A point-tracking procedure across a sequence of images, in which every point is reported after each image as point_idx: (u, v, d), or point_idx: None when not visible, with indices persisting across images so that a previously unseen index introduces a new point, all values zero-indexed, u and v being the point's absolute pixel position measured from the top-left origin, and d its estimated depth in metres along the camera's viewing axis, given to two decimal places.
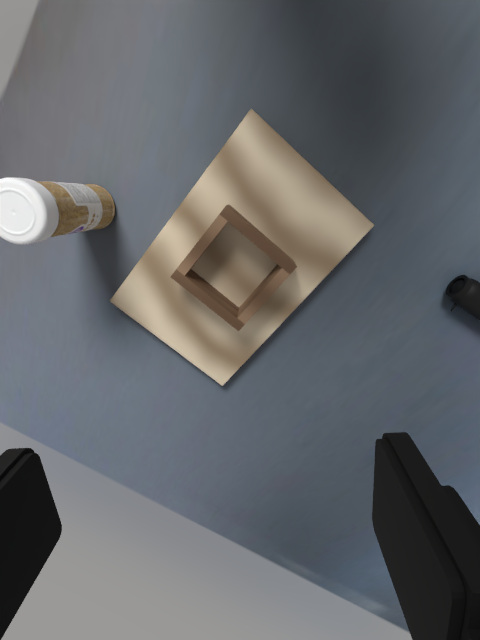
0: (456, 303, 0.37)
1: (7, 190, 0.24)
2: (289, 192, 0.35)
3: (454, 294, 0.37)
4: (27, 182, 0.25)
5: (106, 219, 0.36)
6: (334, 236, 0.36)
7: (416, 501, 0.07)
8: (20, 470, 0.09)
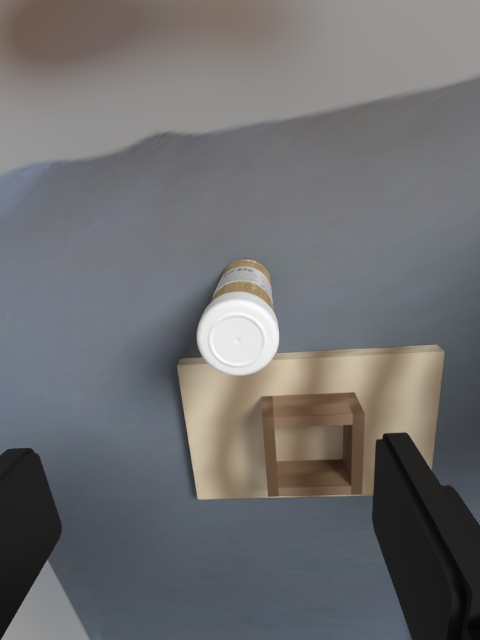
0: None
1: (255, 322, 0.19)
2: (402, 425, 0.34)
3: None
4: (277, 329, 0.19)
5: None
6: None
7: (416, 501, 0.07)
8: (20, 470, 0.09)
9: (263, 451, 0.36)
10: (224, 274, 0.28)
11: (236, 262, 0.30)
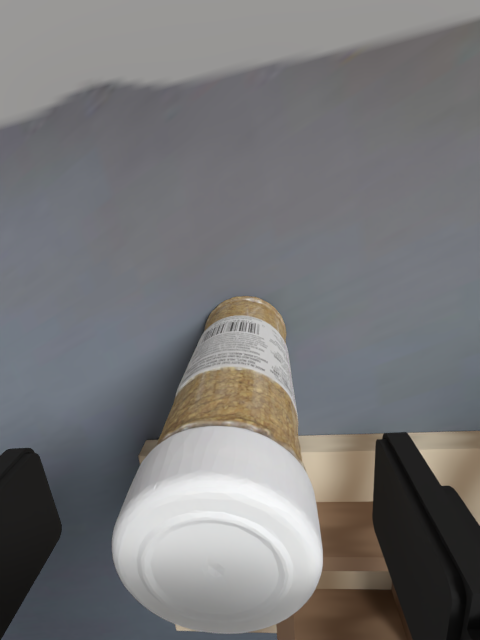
0: None
1: (261, 536, 0.07)
2: None
3: None
4: (320, 538, 0.07)
5: None
6: None
7: (416, 501, 0.07)
8: (20, 470, 0.09)
9: None
10: (207, 329, 0.16)
11: (230, 302, 0.19)
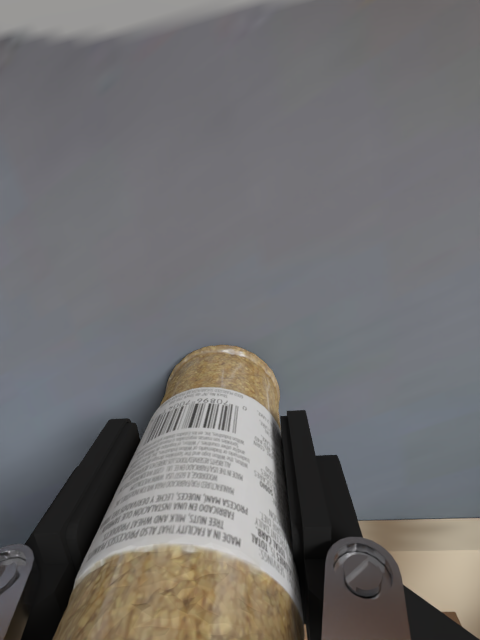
0: None
1: None
2: None
3: None
4: None
5: None
6: None
7: (291, 463, 0.08)
8: (126, 437, 0.10)
9: None
10: (159, 410, 0.10)
11: (199, 355, 0.13)
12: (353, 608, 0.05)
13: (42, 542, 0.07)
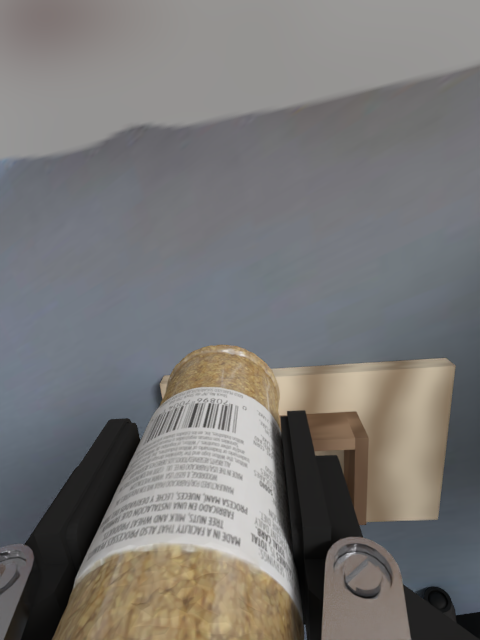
0: None
1: None
2: (409, 446, 0.31)
3: None
4: None
5: None
6: (403, 502, 0.33)
7: (291, 463, 0.08)
8: (126, 437, 0.10)
9: None
10: (159, 410, 0.10)
11: (199, 355, 0.13)
12: (353, 608, 0.05)
13: (42, 542, 0.07)
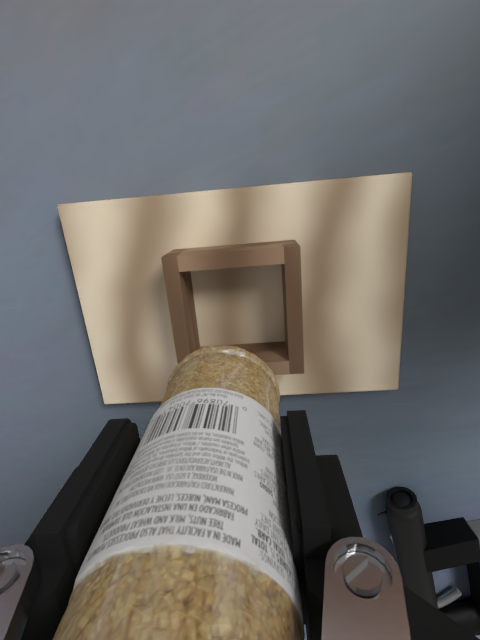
0: (387, 513, 0.32)
1: None
2: (360, 288, 0.26)
3: (394, 506, 0.31)
4: None
5: None
6: (356, 366, 0.28)
7: (291, 463, 0.08)
8: (126, 437, 0.10)
9: None
10: (159, 410, 0.10)
11: (199, 355, 0.13)
12: (353, 608, 0.05)
13: (42, 542, 0.07)
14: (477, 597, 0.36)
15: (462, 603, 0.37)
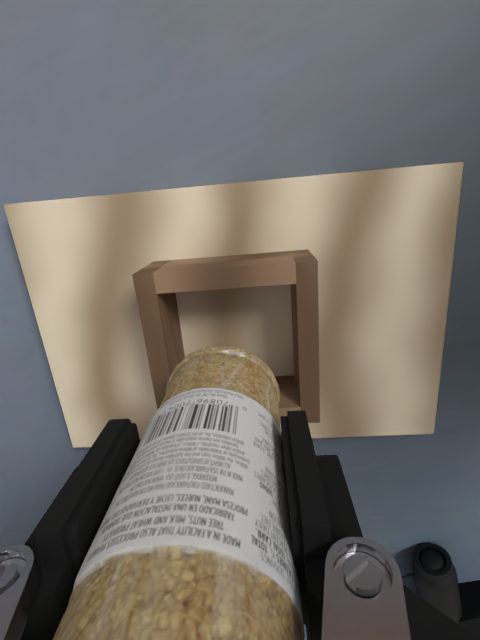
0: (415, 575, 0.27)
1: None
2: (390, 310, 0.20)
3: (424, 570, 0.26)
4: None
5: None
6: (383, 405, 0.22)
7: (291, 463, 0.08)
8: (126, 437, 0.10)
9: None
10: (159, 410, 0.10)
11: (199, 355, 0.13)
12: (353, 608, 0.05)
13: (42, 542, 0.07)
14: None
15: None
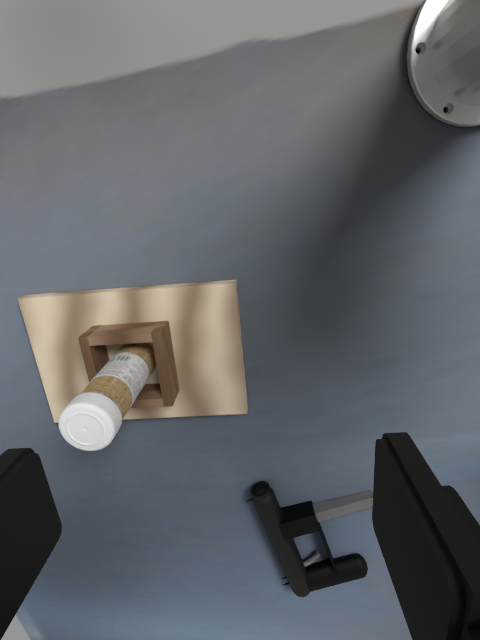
0: (252, 499, 0.47)
1: (95, 418, 0.28)
2: (213, 350, 0.40)
3: (253, 494, 0.46)
4: (113, 421, 0.28)
5: None
6: (218, 398, 0.42)
7: (416, 501, 0.07)
8: (20, 470, 0.09)
9: None
10: (111, 358, 0.37)
11: (128, 344, 0.39)
12: None
13: None
14: (330, 557, 0.50)
15: (323, 562, 0.51)
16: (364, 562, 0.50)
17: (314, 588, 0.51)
